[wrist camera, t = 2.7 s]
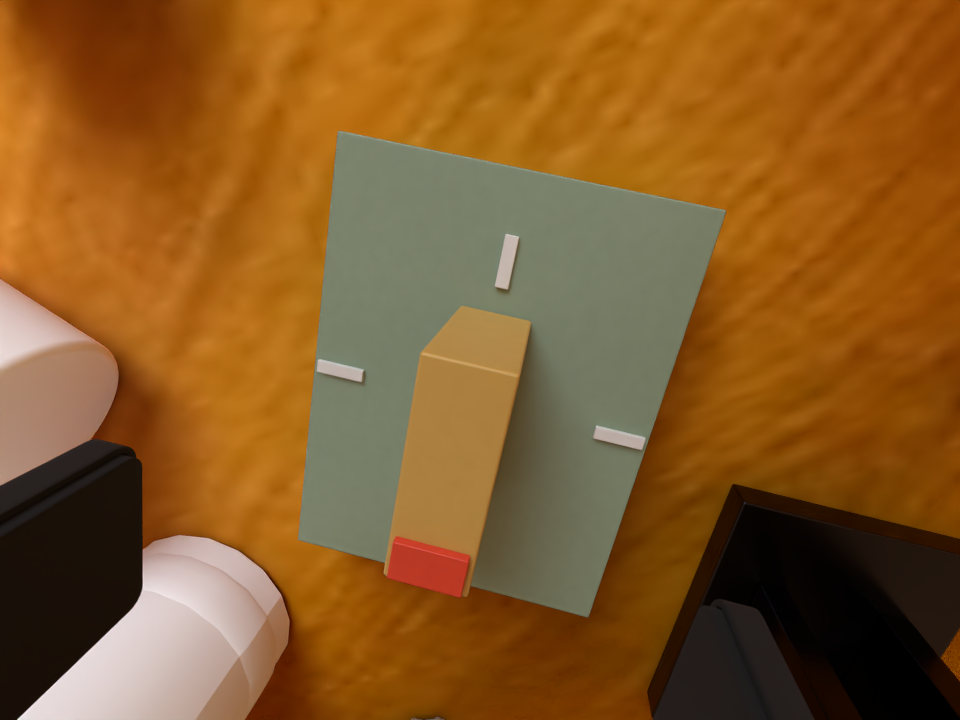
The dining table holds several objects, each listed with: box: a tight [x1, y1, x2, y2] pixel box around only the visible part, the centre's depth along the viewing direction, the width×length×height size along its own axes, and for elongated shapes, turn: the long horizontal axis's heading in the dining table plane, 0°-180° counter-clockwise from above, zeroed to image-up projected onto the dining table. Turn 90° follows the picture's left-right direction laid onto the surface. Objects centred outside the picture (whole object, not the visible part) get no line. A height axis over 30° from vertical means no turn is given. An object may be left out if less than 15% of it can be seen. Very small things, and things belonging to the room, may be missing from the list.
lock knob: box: [384, 306, 531, 598], centre depth 13 cm, size 6×2×5 cm, turn 169°
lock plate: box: [298, 131, 726, 617], centre depth 17 cm, size 13×10×3 cm
